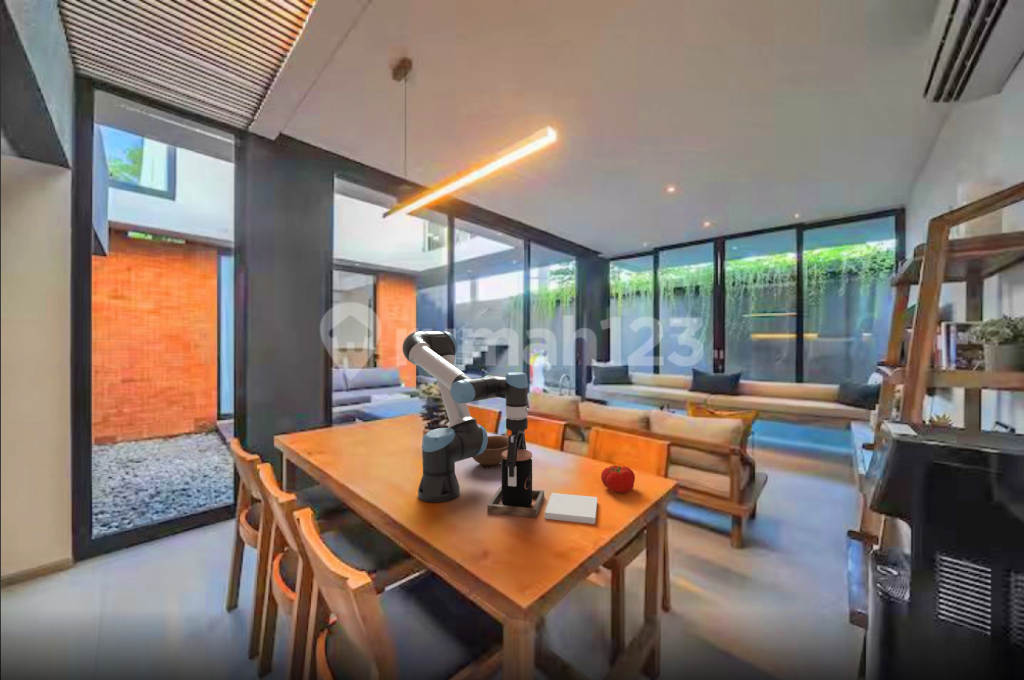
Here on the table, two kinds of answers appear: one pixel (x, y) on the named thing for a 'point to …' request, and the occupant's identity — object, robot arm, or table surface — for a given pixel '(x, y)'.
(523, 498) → the coffee jar
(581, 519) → the tile
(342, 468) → the table surface
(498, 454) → the bowl
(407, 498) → the table surface
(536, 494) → the holder
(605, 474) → the tomato
